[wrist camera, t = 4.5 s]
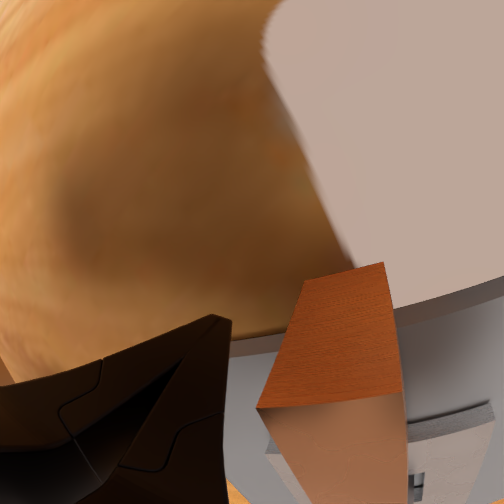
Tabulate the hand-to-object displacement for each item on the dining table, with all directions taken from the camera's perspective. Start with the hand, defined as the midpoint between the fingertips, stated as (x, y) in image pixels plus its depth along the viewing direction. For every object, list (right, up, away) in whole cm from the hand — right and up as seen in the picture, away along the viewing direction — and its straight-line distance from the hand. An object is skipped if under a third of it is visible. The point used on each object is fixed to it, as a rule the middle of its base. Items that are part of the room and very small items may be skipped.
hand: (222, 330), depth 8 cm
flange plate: (+7, -6, +3) cm, 10 cm away
